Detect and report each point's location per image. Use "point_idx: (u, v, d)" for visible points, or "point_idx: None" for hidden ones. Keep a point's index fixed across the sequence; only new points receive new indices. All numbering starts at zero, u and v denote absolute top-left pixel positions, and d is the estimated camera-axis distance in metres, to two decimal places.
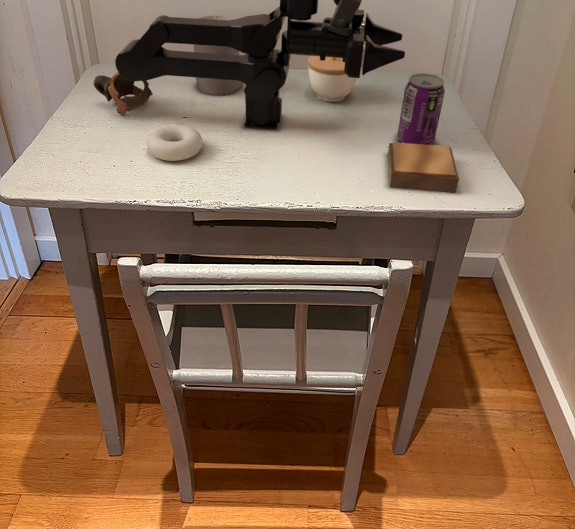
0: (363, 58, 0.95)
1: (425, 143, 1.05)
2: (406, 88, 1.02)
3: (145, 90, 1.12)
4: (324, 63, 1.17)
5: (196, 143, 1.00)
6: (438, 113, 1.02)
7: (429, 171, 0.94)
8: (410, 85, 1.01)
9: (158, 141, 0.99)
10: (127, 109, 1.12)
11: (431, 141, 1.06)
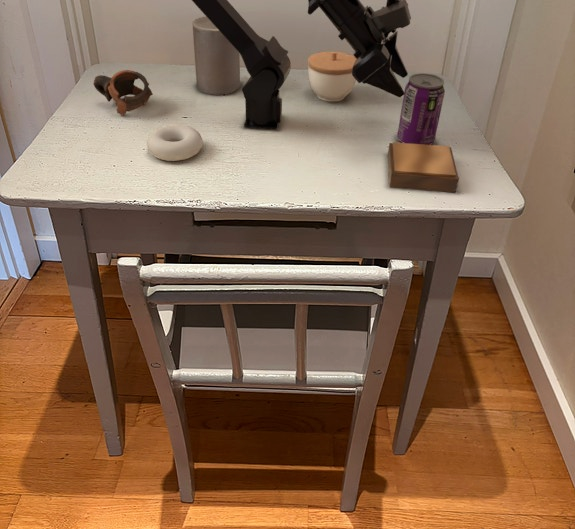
0: (375, 71, 0.94)
1: (425, 143, 1.05)
2: (406, 88, 1.02)
3: (145, 90, 1.12)
4: (324, 63, 1.17)
5: (196, 143, 1.00)
6: (438, 113, 1.02)
7: (429, 171, 0.94)
8: (410, 85, 1.01)
9: (158, 141, 0.99)
10: (127, 109, 1.12)
11: (431, 141, 1.06)
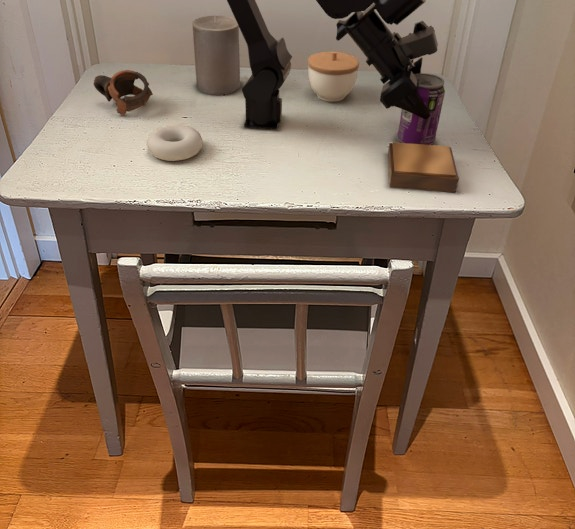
0: None
1: (425, 143, 1.05)
2: None
3: (145, 90, 1.12)
4: (324, 63, 1.17)
5: (196, 143, 1.00)
6: (438, 113, 1.02)
7: (429, 171, 0.94)
8: None
9: (158, 141, 0.99)
10: (127, 109, 1.12)
11: (431, 141, 1.06)
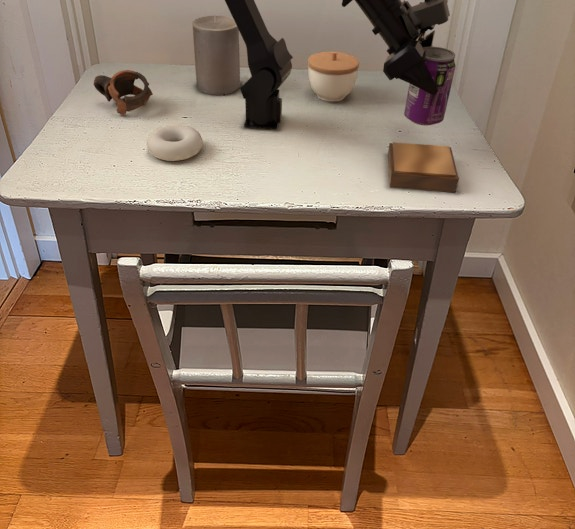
0: None
1: (432, 121, 0.99)
2: None
3: (145, 90, 1.12)
4: (324, 63, 1.17)
5: (196, 143, 1.00)
6: (447, 89, 0.96)
7: (429, 171, 0.94)
8: None
9: (158, 141, 0.99)
10: (127, 109, 1.12)
11: (439, 120, 1.00)
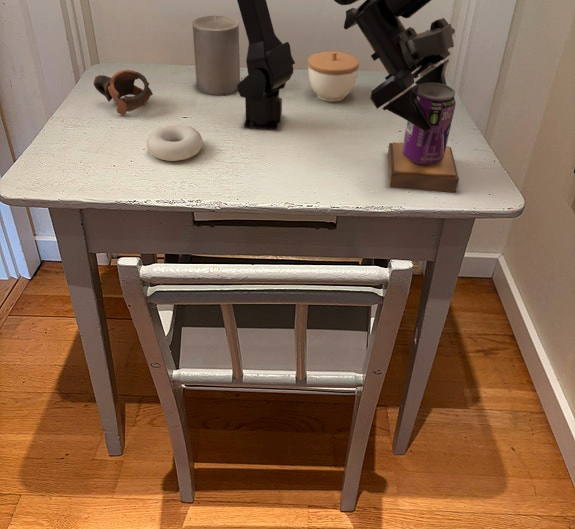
0: (395, 98, 0.86)
1: (426, 161, 0.94)
2: None
3: (145, 90, 1.12)
4: (324, 63, 1.17)
5: (196, 143, 1.00)
6: (443, 129, 0.91)
7: (429, 171, 0.94)
8: None
9: (158, 141, 0.99)
10: (127, 109, 1.12)
11: (435, 160, 0.94)
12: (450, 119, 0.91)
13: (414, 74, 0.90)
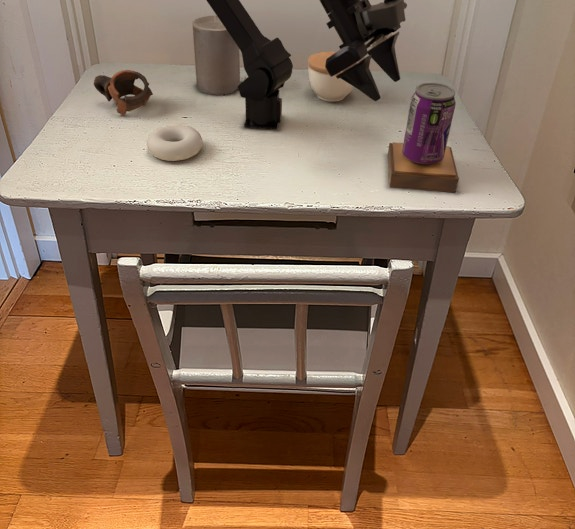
0: (348, 68, 0.89)
1: (426, 161, 0.94)
2: (412, 96, 0.91)
3: (145, 90, 1.12)
4: (324, 63, 1.17)
5: (196, 143, 1.00)
6: (443, 129, 0.91)
7: (429, 171, 0.94)
8: (415, 93, 0.90)
9: (158, 141, 0.99)
10: (127, 109, 1.12)
11: (435, 160, 0.94)
12: (450, 119, 0.91)
13: (367, 45, 0.94)
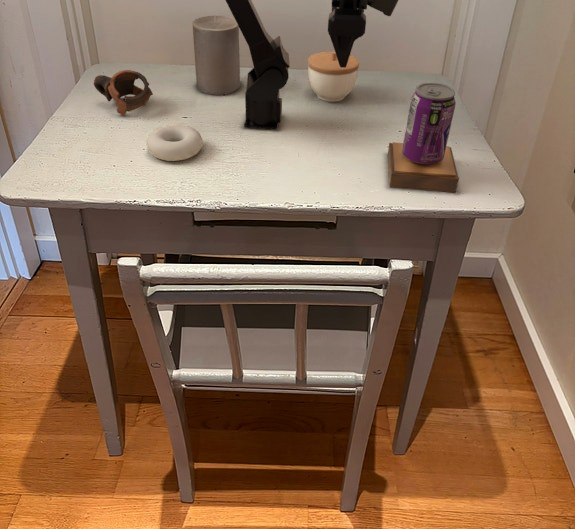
0: None
1: (426, 161, 0.94)
2: (412, 96, 0.91)
3: (145, 90, 1.12)
4: (324, 63, 1.17)
5: (196, 143, 1.00)
6: (443, 129, 0.91)
7: (429, 171, 0.94)
8: (415, 93, 0.90)
9: (158, 141, 0.99)
10: (127, 109, 1.12)
11: (435, 160, 0.94)
12: (450, 119, 0.91)
13: None
